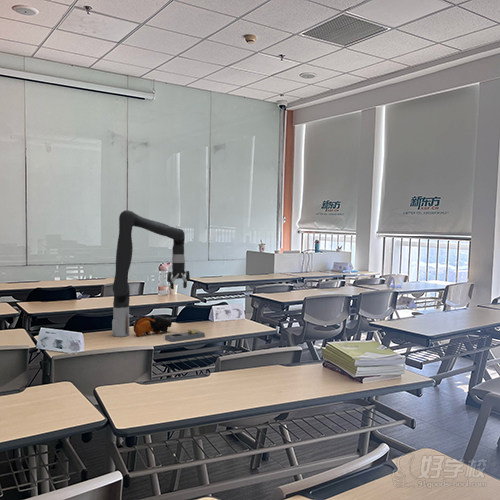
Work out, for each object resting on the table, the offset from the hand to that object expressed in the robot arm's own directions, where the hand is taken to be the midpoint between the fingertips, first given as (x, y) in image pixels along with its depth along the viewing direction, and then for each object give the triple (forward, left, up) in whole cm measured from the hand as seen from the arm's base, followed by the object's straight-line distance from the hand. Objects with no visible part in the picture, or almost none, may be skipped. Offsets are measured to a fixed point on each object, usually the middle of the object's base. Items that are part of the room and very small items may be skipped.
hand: (178, 288), depth 298 cm
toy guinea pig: (-11, +12, -28) cm, 33 cm away
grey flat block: (-2, -11, -28) cm, 30 cm away
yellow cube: (+3, -11, -28) cm, 30 cm away
